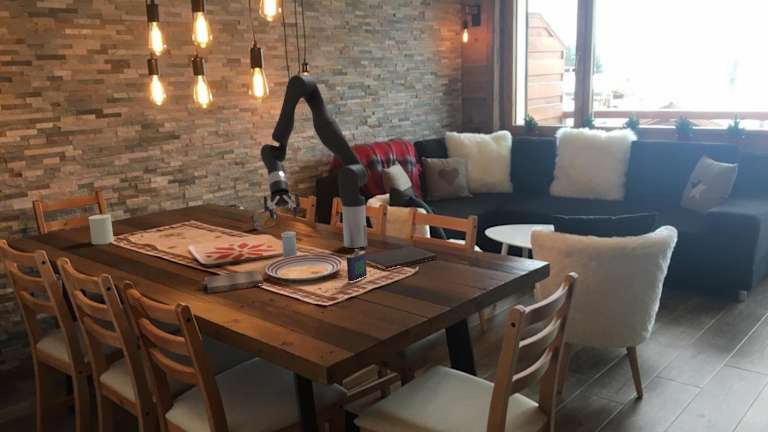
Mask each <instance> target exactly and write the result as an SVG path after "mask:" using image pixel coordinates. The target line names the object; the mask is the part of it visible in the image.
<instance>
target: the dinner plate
mask: <svg viewBox="0 0 768 432" xmlns="http://www.w3.org/2000/svg"><path fill="white" fill-rule="evenodd" d="M306 265H308V266H309V265H311V266H315V265H316V266H318V265H319V266H323V267H325V268H326V267H327V269H328V272H327V271H326V272H325V273H323V274H321V275H317V276H312V277H305V278H286V277H283V276H281V275H280V271H281V270H284V269H285V268H291V267H293V268H294V267H297V266H298V267H299V266H301V267H302V266H306ZM343 266H344V261H343V260H342V258H340V257H337V256H335V255H331V254H324V253H323V254H320V253H309V254H305V253H304V254H297V255H295V256H290V257H285V258H283V257H282V258H279V259H276V260H274V261H272V262H270V263H268V264H267V265H266V266H265V273H267V275H270V276H272V277H274V278H278V279H282V280H287V279H288V280H287V281H294V280H304V281H310V280H309V279H313V280H316V279H315V278H318V279H321V278H324V277H326V276H329V275H332V274H333V273H335V272H337V271H339V270H340V269H341V268H342V267H343ZM323 276H324V277H323ZM320 277H321V278H320Z"/></svg>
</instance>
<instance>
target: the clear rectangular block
mask: <svg viewBox="0 0 768 432" xmlns="http://www.w3.org/2000/svg"><path fill="white" fill-rule="evenodd" d="M273 213H274V220H272V219H271V218H270V214H269V212H268V211H267V212H265V211H264V209H261V210H258V211H255V212H253V213H252V214H251V215H250V219H249V220H250V226H251V227H252V228H253V229H254V230H263V229H268V228H270V227H273V226H275V225H276V223H277V221H278V214H277V211H276V210H275V209H274V210H273ZM267 227H268V228H267Z"/></svg>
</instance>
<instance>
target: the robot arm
mask: <svg viewBox="0 0 768 432" xmlns="http://www.w3.org/2000/svg"><path fill="white" fill-rule="evenodd" d="M322 95H323V94H322V93H321V91H320V88H319V86H318V84H317V82H316V80H315V79H314V78H313V77H312V76H311V75H307V74H294V75H292V76H291V77H290V78H289V80H288V82H287V85H286V89H285V93H284V98H283V102H282V105H281V109H280V113H279V116H278V120H277V121H276V124H275V127H274V129H273V131H272V134H271V138H272V140H273V141H274V142H275V143H277V144H278V145H274V144H270V143H266V144H263V146H261V149H260V158H261V161H262V163H263V165H264V166H265V169H267V175H268V187H269V191H270V193H269V194H270V196H269V197H267V196H266V195H264V196H263V210H264V211H265V212H267V211H268V212H269V214H270V218H271V219H272V220H274V213H273V210H275V209H276V208H280V207H288V208H290V209H291V210H292V215H293V216H292V217H293V218H294V219H295V218H296V217H298V211H297V210H299V209H301V202H300V198H299V194H298V193H295V194H293V195H292V194H291V193H290V189H289V184H288V179H287V174H286V169H285V166H284V164H283V162H284V161H285V160H286V158H287V148H288V143H289V139H290V137H291V134H292V132H293V131H294V126H295V116H296V115H295V113H296V109H297V106H298V104H299V102H300V100H301V99H303V100H304V101H305V103H306V105H307V106H308V107H309V109H310V113H311V116H312V124H313V129H314V131H315V134H316V135H317V137H318V139H319V140H320V142H321V143H322V145H323V146H324V147H325V148H326V149H327V150H328V151H329V152H330V153H332V154H333V155H334V156H335V157H336V158H338V159H339V161H340V163H341V165H342V168H340V169H339V172H338V174H337V175H338V176H337V183H338V184H337V185H338V192H339V200H341V208H342V210H341V211H342V228H343V229H342V230H343V247H344V246H345V247H348V248H357V247H363V246H367V247H368V231H367V230H368V229H367V222H366V221H367V218H366V217H367V216H366V199H365V197H364V196H362V195H361V194H360V188H359V187H362V186H365V184H366V183H367V181H368V172H367V170H366V168H365V166H364V165H363V163H362V162H361V160H360V159H359V158H358V156H357V155H356V154H355V151H354V150H353V149H352V148H351V146H350V144H349V142H348V141H347V139H346V137H345V136H344V134H343V131H342V129H341V128H340V125H339V124H338V123H337V120H336V119H335V118H334V116H333V114H332V112H331V110H330V109H329V107H328V105H327V104H326V102H325V100H324V98H323V97H324V96H322ZM293 201H295V202H293ZM270 202H271V205H270V206H268V203H270ZM296 219H297V218H296ZM345 247H344V248H345ZM348 248H347V249H348Z"/></svg>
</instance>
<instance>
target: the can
mask: <svg viewBox="0 0 768 432" xmlns="http://www.w3.org/2000/svg"><path fill="white" fill-rule="evenodd" d="M111 217H112V215H111V214H105V213H103V214H96V215H91V216H89V217H88V218H87V219H88V223H89V231H90V238H91V244H92V245H106V244H111V243H113V242H115V238H114V233H113V225H112V224H113V223H112V218H111ZM110 242H111V243H110Z"/></svg>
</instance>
